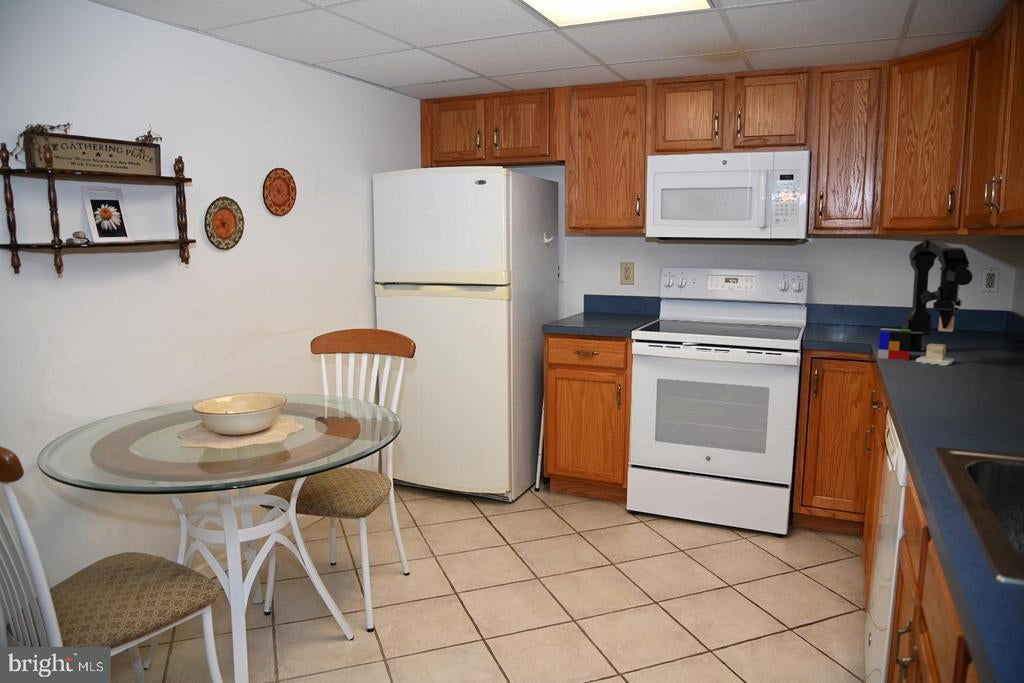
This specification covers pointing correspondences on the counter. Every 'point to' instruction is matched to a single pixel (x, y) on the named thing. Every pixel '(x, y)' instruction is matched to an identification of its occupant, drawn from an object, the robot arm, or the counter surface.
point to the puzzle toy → (894, 344)
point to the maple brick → (936, 352)
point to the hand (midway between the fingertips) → (945, 327)
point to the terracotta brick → (949, 327)
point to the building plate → (935, 361)
